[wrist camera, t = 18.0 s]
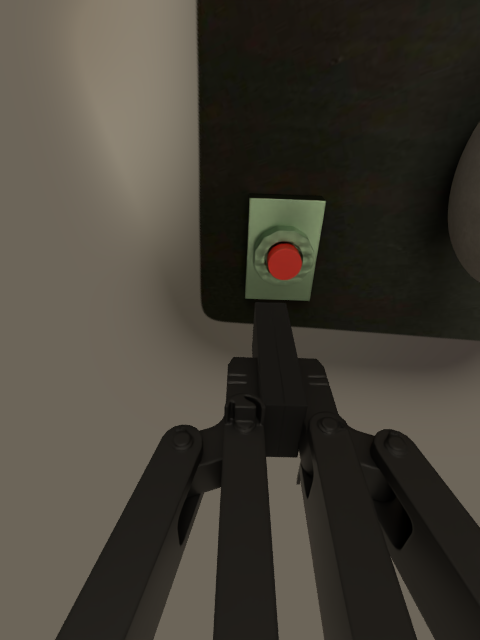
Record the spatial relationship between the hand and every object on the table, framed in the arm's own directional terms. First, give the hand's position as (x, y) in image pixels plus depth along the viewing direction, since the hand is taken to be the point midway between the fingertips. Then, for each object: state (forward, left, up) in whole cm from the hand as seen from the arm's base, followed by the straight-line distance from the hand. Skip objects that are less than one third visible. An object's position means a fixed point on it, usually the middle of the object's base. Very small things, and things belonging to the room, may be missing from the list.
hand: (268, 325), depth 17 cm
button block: (+6, +1, -24) cm, 25 cm away
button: (+6, +1, -21) cm, 22 cm away
